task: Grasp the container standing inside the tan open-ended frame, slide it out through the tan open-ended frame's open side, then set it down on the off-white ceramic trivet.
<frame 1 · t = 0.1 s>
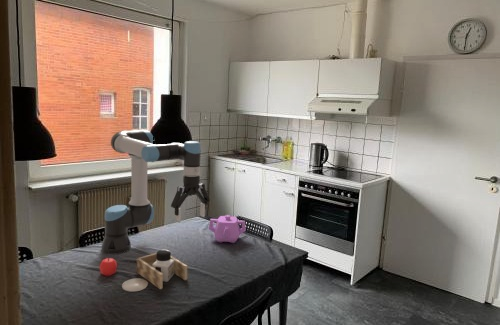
hand: (190, 219, 179), 28 cm above the table, fingers open, 13 cm apart
container: (163, 277, 179), resting in tan open-ended frame
apple: (108, 274, 180), on the table
teapot: (226, 239, 230), on the table
trivet: (135, 285, 170), on the table
tan open-ended frame: (162, 276, 180), on the table
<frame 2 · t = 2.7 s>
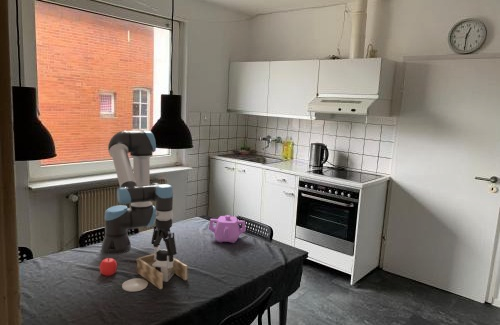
hand: (163, 263, 178), 7 cm above the table, fingers closed on container, 10 cm apart
container: (163, 277, 179), resting in tan open-ended frame, touching gripper
everything else where it was.
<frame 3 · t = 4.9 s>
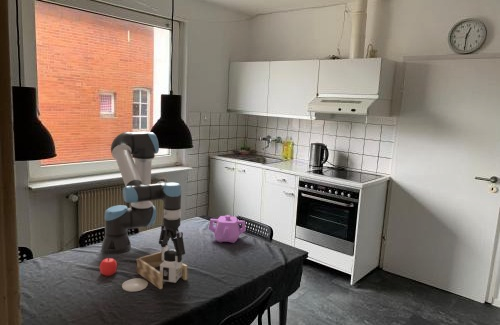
hand: (171, 263, 173), 9 cm above the table, fingers closed on container, 10 cm apart
container: (171, 278, 174), point 2 cm above the table, touching gripper
everything else where it was.
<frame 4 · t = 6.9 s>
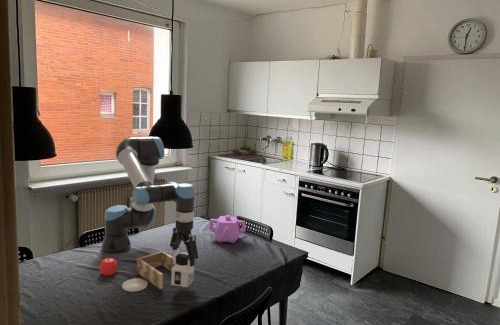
hand: (183, 267, 167), 11 cm above the table, fingers closed on container, 10 cm apart
container: (182, 282, 168), point 3 cm above the table, touching gripper
everything else where it was.
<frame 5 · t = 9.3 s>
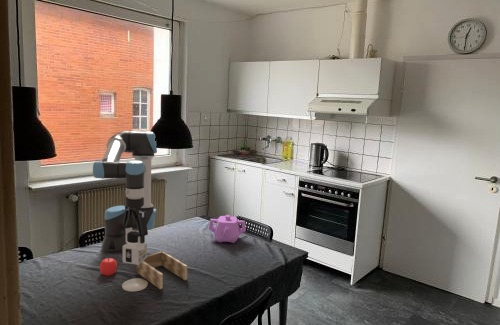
hand: (135, 245, 167), 19 cm above the table, fingers closed on container, 10 cm apart
container: (134, 260, 168), point 12 cm above the table, touching gripper
everything else where it was.
when the fingers open (9 cm above the table, at t = 11.6 s): container drops 1 cm, resting on trivet.
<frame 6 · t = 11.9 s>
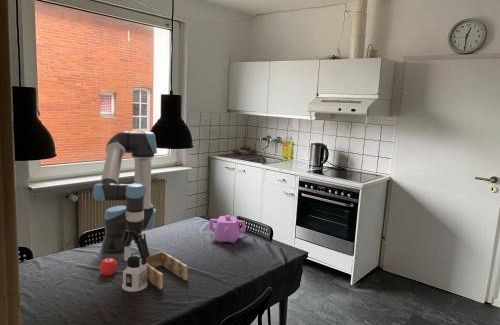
hand: (135, 265, 168), 10 cm above the table, fingers open, 13 cm apart
container: (135, 284, 170), resting on trivet
everything else where it was.
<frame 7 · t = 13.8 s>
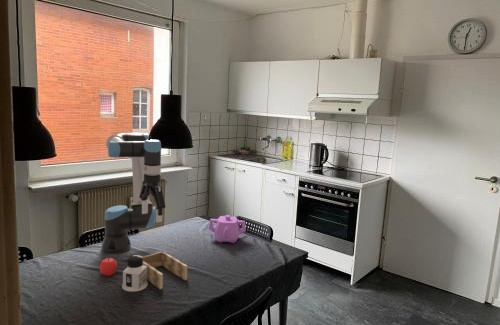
hand: (151, 217, 178), 28 cm above the table, fingers open, 13 cm apart
nothing on the table moved.
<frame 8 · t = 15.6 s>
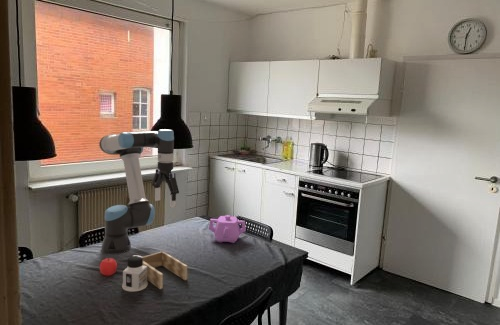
hand: (164, 203, 188), 32 cm above the table, fingers open, 13 cm apart
nothing on the table moved.
at the end: container 0.2 cm from the trivet (horizontally); container tilted 0°; container resting on trivet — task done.
